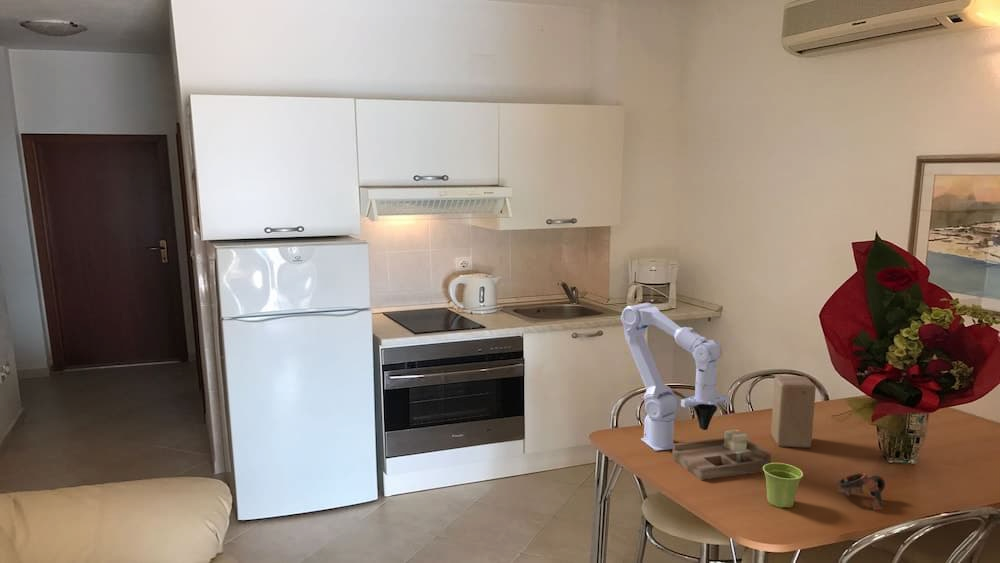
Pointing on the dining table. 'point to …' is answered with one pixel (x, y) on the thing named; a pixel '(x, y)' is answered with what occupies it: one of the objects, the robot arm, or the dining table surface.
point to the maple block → (735, 440)
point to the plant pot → (781, 483)
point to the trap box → (719, 458)
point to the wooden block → (793, 411)
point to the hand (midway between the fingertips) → (703, 428)
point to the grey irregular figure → (860, 479)
